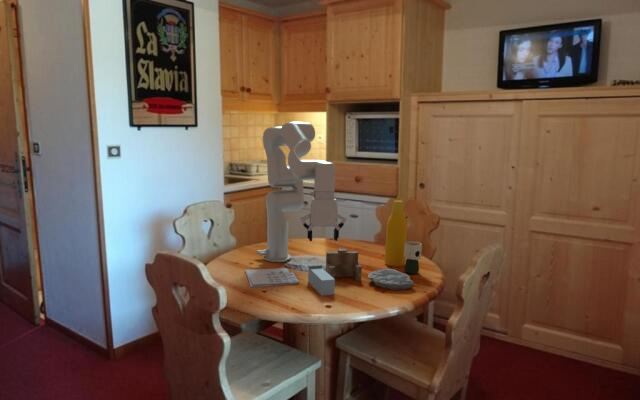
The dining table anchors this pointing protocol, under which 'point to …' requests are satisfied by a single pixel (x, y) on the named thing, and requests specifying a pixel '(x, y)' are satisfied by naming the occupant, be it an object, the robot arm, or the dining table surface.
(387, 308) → the dining table surface
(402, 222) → the yellow bottle
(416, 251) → the character mug
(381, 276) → the flat grey rock
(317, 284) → the grey rectangular block
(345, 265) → the notched brown block
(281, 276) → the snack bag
